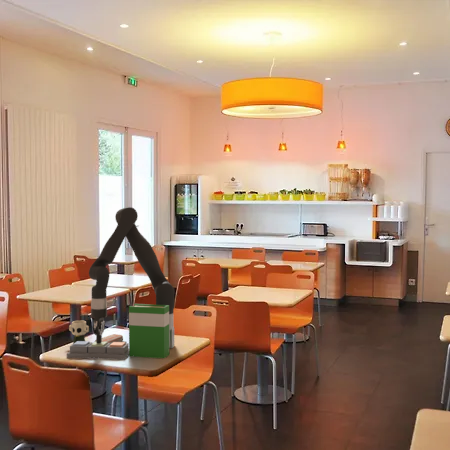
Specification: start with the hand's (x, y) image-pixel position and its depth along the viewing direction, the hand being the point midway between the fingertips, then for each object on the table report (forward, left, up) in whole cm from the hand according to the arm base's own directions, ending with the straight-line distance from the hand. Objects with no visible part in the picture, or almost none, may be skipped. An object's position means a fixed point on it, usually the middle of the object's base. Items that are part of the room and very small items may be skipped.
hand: (99, 342), depth 283 cm
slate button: (+9, 0, -2) cm, 9 cm away
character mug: (+15, -14, -6) cm, 21 cm away
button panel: (0, 0, -6) cm, 6 cm away
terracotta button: (-9, 0, -2) cm, 9 cm away
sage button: (0, 0, -2) cm, 2 cm away
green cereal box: (-24, -2, -6) cm, 25 cm away
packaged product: (+1, -19, -7) cm, 20 cm away
